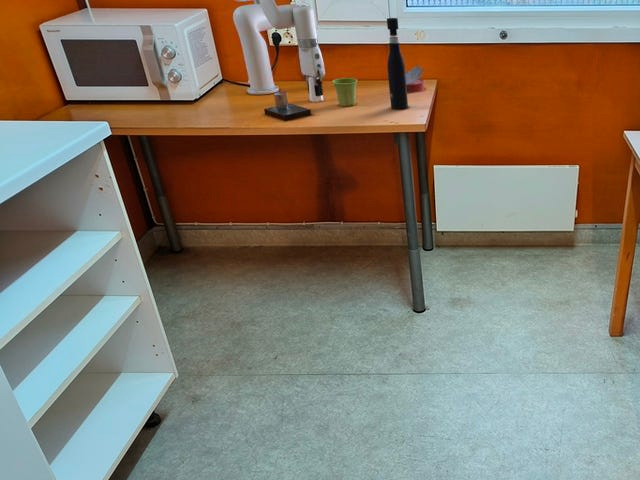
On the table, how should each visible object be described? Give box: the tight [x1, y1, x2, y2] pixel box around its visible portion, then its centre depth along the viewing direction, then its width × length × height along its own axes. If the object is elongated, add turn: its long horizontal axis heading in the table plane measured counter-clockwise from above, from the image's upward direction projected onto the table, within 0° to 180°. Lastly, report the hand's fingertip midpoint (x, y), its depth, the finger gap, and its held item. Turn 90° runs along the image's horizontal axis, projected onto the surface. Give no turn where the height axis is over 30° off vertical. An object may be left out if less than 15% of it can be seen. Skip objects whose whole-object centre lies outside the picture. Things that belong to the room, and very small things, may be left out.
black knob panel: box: [263, 102, 312, 122], centre depth 234 cm, size 14×11×2 cm
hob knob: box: [273, 91, 289, 109], centre depth 234 cm, size 4×4×5 cm
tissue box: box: [405, 66, 425, 93], centre depth 263 cm, size 11×10×10 cm
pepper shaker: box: [308, 76, 325, 103], centre depth 249 cm, size 5×5×11 cm
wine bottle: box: [386, 17, 409, 111], centre depth 232 cm, size 6×6×30 cm
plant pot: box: [331, 77, 358, 107], centre depth 243 cm, size 9×9×9 cm
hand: (315, 94), depth 251 cm, fingers closed on pepper shaker, 3 cm apart
